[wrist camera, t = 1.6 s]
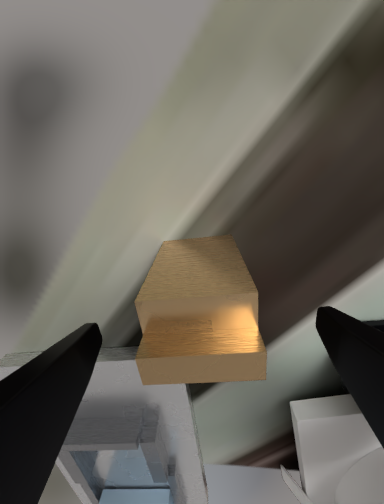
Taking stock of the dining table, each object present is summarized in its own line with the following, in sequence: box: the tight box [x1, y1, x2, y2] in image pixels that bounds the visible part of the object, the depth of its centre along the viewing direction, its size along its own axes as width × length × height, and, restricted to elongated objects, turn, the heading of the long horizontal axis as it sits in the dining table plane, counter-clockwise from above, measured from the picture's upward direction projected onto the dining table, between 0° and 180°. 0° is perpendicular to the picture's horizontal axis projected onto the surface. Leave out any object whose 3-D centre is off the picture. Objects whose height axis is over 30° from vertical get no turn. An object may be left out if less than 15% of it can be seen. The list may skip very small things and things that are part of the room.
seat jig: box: [0, 346, 208, 504], centre depth 19 cm, size 14×22×3 cm, turn 7°
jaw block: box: [135, 235, 267, 385], centre depth 10 cm, size 4×4×7 cm
